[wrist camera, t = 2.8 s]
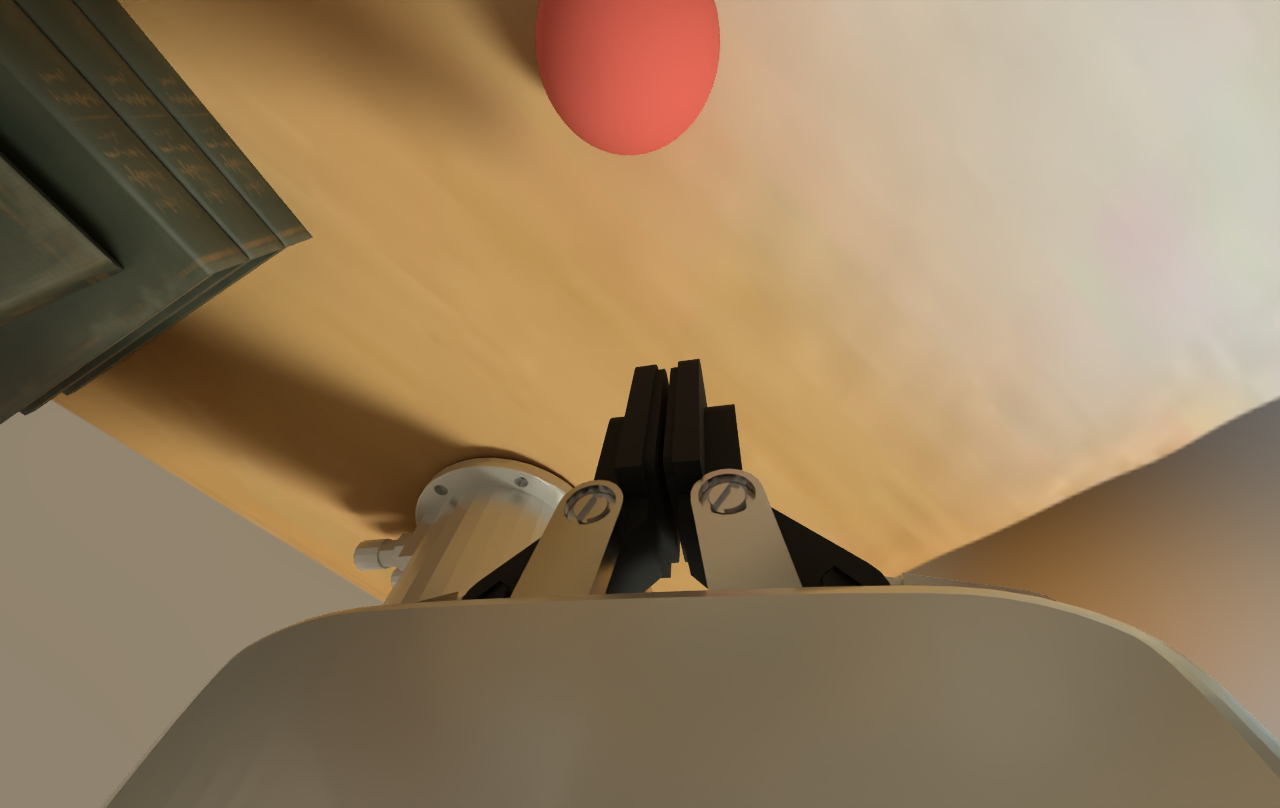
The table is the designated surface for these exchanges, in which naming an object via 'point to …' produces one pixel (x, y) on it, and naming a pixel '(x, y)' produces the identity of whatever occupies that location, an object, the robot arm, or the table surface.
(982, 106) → the table surface
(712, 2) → the ball
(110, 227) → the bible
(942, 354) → the table surface
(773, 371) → the table surface
